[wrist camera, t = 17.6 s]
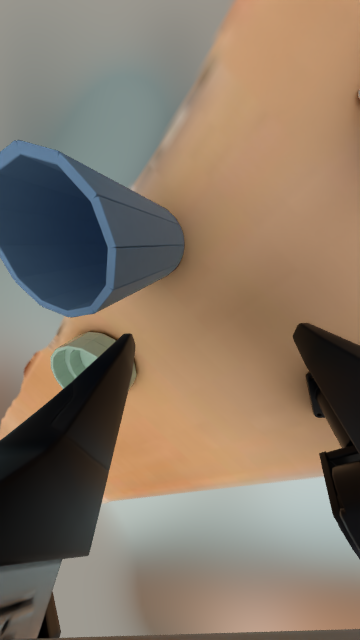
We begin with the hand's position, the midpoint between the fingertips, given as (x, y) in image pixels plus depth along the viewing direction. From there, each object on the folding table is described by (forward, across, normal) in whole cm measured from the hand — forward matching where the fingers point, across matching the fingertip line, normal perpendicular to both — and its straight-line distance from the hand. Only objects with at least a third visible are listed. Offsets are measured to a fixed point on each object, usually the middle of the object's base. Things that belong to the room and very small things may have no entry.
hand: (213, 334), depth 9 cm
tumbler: (+12, +4, -2) cm, 13 cm away
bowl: (+11, +14, +14) cm, 23 cm away
